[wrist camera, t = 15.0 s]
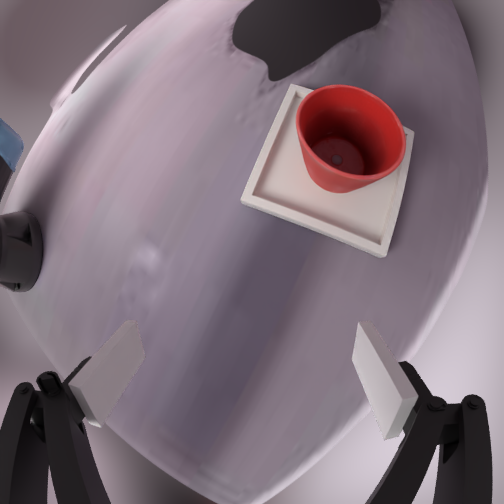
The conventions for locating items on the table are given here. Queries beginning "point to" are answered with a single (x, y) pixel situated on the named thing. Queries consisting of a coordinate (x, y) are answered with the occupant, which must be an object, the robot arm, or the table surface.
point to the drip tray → (317, 199)
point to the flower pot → (348, 137)
